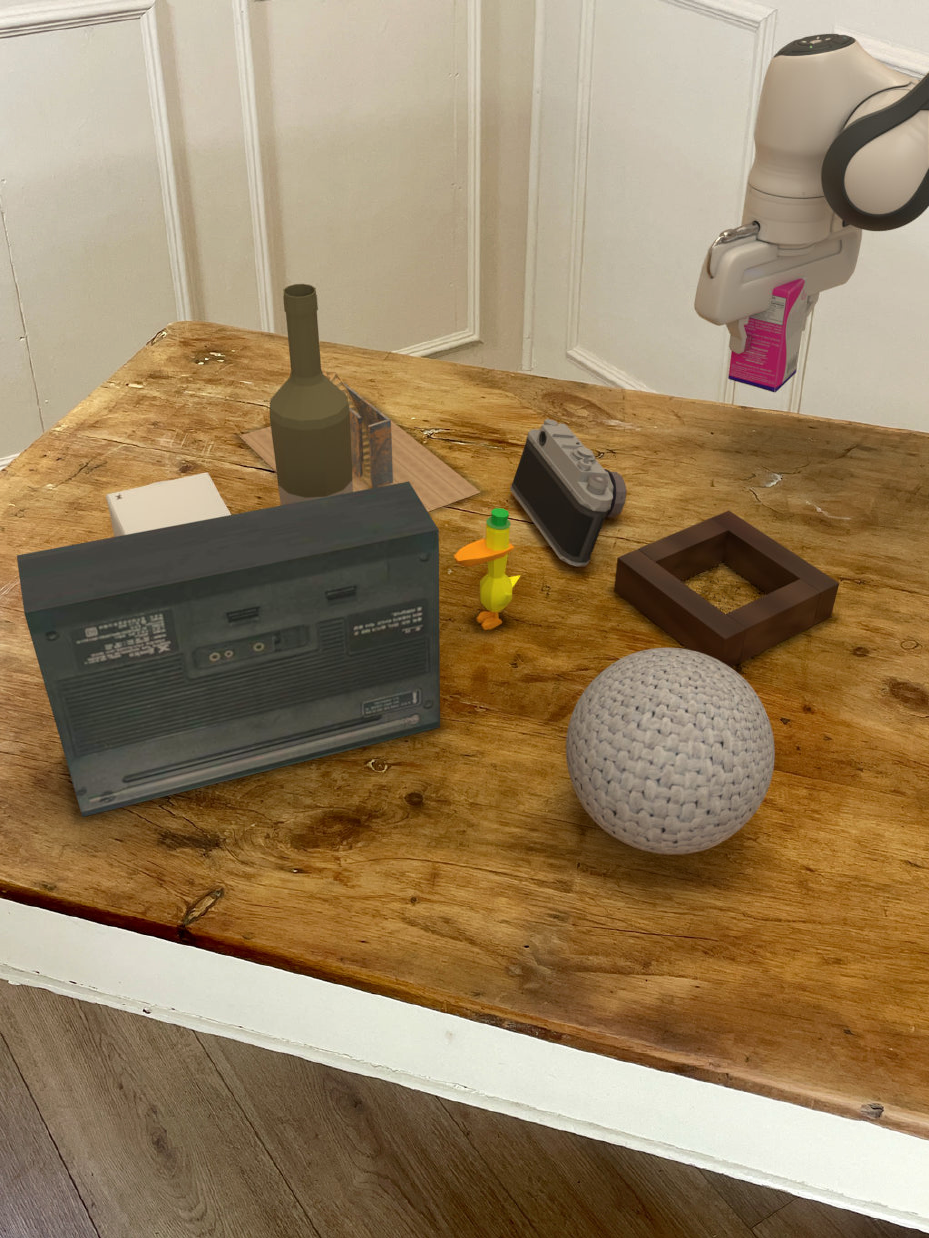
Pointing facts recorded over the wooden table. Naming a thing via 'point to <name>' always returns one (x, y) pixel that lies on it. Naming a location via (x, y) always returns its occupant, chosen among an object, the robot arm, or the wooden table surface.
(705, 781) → the decorative ball
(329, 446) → the bottle
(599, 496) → the camera
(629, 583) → the wooden frame
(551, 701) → the wooden table surface
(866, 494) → the wooden table surface
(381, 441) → the architectural model on board
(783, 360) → the supplement box
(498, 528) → the toy figure
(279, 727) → the cassette player
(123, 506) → the white product box
